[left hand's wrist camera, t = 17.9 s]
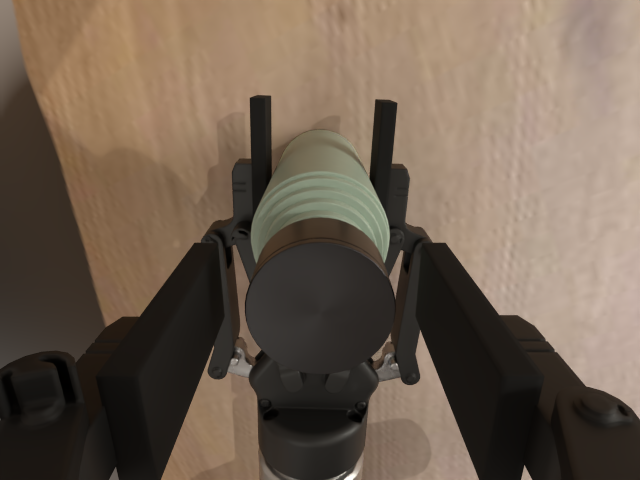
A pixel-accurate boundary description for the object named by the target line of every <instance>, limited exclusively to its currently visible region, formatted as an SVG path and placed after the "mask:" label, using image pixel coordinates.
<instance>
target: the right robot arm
mask: <svg viewBox="0 0 640 480" xmlns="http://www.w3.org/2000/svg"><path fill="white" fill-rule="evenodd" d="M396 113H397V103H396V102H393V101H391V100H378V99H376V100H375V113H374V126H373V139H372V152H371V165H370V178H369V179H370V181H371V184H372V186H373V188H374V190H375V192H376V194H377V196H378V198H379V201H380V203H381V205H382V207H383V209H384V211H385V214H386V217H387V220H388V224H389V233H390V239H389V247H388V252H387V256H386V260H385V262H384V265H385V268H386V271H387V274H388V277H389V275H390V273H391V271H392V269H393V266H394V264H395V262H396V259H397V257H398V255H399V253H400V250H403V251H404V252H403V258H402V264H401V270H400V275H399V281H398V287H397V293H396V299H395V302H396V314H395V320H394V324H393V327H392V330H391V341H392V342H387V343H386V344H385V347H384V348H383V350H382V356H381V358H380V359H378V360H377V361H373V359H372V358H371V357H370V358H369V359H368V360H366V361H365V362H363V363H361V364H359V365H358V366H356V367H353V368H351V369H348V370H345V371H341V372H337V373H331V374H310V373H304V372H299V371H296V370H292V369H290V368H287V367H285V366H283V365H281V364H279V363H278V362H276V361H275V360H273V359H272V358H270V357H269V356H268V355H267V354H266V353H265V352H264V351H262V350H261V351H260V352H259V353H258V355H257V356H256V357H255V358H254V357H252V356H250V355H249V354H248V351H247V344H246V343H245V342H244V339H243V338H242V337H238V336H239V331H240V316H239V306H238V296H237V286H236V277H235V267H234V257H233V247H232V245H236V246H237V249H238V252H239V254H240V257H241V260H242V263H243V265H244V268H245V271H246V274H247V276H248V279H249V282H251V279H252V276H253V273H254V270H255V267H256V261H255V258H254V254H253V250H252V244H251V227H252V222H253V218H254V215H255V213H256V210H257V208H258V206H259V204H260V201H261V199H262V197H263V195H264V193H265V191H266V189H267V187H268V184H269V182H270V180H271V178H272V156H271V96H264V95H257V96H254V97H251V98H250V126H251V159H239V160H238V161H237V162H236V163H235V166H234V168H233V171H232V183H233V184H232V187H233V212H234V215H233V217H232V218H230V219H227V220H224V221H222V220H218V221H215V222H214V223H213V224H212V225H211V227H210V228H209V229H208V231H207V232H206V234H205V235H204V236H203V238H202V240H201V243H218V247H219V258H220V269H221V280H222V291H223V302H224V313H225V317H224V320H223V322H222V325H221V327H220V330H219V333H218V335H217V338H216V340H215V343H214V350H213V354H212V357H211V360H210V364H209V367H208V374H209V376H210V377H211V378H214V379H222V378H224V377H225V376H226V374H227V372H229V373H232V374H236V375H240V376H243V377H247V378H249V382H250V385H251V386H252V388H253V389H254V391H255V392H256V395H257V403H258V441H259V451H258V452H259V477H260V480H362V470H363V460H364V446H365V436H366V426H367V415H368V404H369V399H370V397H371V395H372V393H373V392H374V391H375V390H376V388H377V386H378V383H379V382H381V381H386V380H390V379H395V378H400V377H401V380H402V382H403V383H405V384H407V385H413V384H416V383H417V382H418V381H419V379H420V373H419V368H418V364H417V360H416V355H415V353H416V348H417V343H418V338H419V333H420V328H419V325H418V322H417V320H416V317H415V313H416V302H417V291H418V280H419V269H420V258H421V247H422V243H433V242H432V241H431V239H430V238H429V236H428V235H427V233H426V232H425V230H424V229H423V228H421V227H413V226H411V225H408V224H407V223H405V218H406V208H407V199H408V189H409V181H410V178H409V174H408V171H407V169H406V167H405V166H404V165H403V164H392V155H393V144H394V134H395V123H396Z"/></svg>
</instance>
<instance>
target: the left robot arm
mask: <svg viewBox="0 0 640 480" xmlns="http://www.w3.org/2000/svg"><path fill="white" fill-rule="evenodd" d="M224 317H225V313H224V302H223V291H222V280H221V269H220V258H219V247H218V243H194V244H193V246H192V247H191V248H190V250H189V251H188V252H187V254H186V255H185V256H184V258H183V259H182V260H181V262H180V263H179V265H178V266H177V267H176V269H175V270H174V271H173V273H172V274H171V275H170V277H169V278H168V279H167V281H166V282H165V283H164V285H163V286H162V287H161V289H160V290H159V291H158V293H157V294H156V295H155V297H154V298H153V299H152V301H151V302H150V304H149V305H148V306H147V308H146V309H145V310H144V312H143V313H142V314H141V316H140V317H122V318H120V319H118V320H117V321H115V322H114V323H112V324H111V325H109V326H107V327H106V328H105V329H104V330H103V331H102V333H101V334H100V335H99V336H98V337H97V338H96V340H95V343H92V344H91V346H90V347H89V348H88V349H87V350H86V354H83V355H82V356H81V357H80V359H79V360H78V361H77V362H76V363H75V359H74V357H72V356H71V355H70V354H68V353H66V352H60V351H47V352H39V353H36V354H32V355H28V356H25V357H22V358H20V359H18V360H15V361H13V362H11V363H9V364H7V365H6V366H4V367H3V368H1V369H0V419H1V420H0V480H109V478H110V476H111V475H112V473H113V471H114V469H115V467H116V469H117V473H118V477H119V480H161V478H162V475H163V473H164V470H165V467H166V465H167V462H168V460H169V457H170V455H171V452H172V450H173V447H174V445H175V442H176V439H177V437H178V434H179V432H180V429H181V427H182V424H183V422H184V419H185V417H186V414H187V411H188V409H189V406H190V404H191V401H192V399H193V396H194V394H195V391H196V389H197V386H198V383H199V381H200V378H201V376H202V373H203V371H204V368H205V366H206V363H207V361H208V358H209V355H210V353H211V350H212V348H213V345H214V343H215V340H216V338H217V335H218V333H219V330H220V327H221V325H222V322H223V320H224ZM415 317H416V320H417V322H418V325H419V328H420V330H421V333H422V335H423V338H424V340H425V343H426V345H427V348H428V350H429V353H430V356H431V358H432V361H433V363H434V366H435V368H436V371H437V373H438V376H439V378H440V381H441V384H442V386H443V389H444V391H445V394H446V396H447V399H448V401H449V404H450V406H451V409H452V412H453V414H454V417H455V419H456V422H457V424H458V427H459V429H460V432H461V434H462V437H463V440H464V442H465V445H466V447H467V450H468V452H469V455H470V457H471V460H472V462H473V465H474V468H475V470H476V473H477V475H478V478H479V480H521V477H522V473H523V469H524V465H525V467H526V469H527V470H528V472H529V474H530V476H531V478H532V480H640V419H639V418H638V417H637V415H636V414H635V413H634V411H633V410H632V409H631V408H630V407H629V406H627V405H626V404H625V403H624V402H622V401H621V400H620V399H618V398H616V397H614V396H612V395H610V394H608V393H606V392H604V391H600V390H597V389H594V388H590V387H586V386H585V385H584V384H583V382H582V381H581V380H580V379H579V378H578V377H577V375H576V374H575V373H574V372H573V371H572V370H571V368H570V367H569V366H568V365H567V364H566V362H565V361H564V360H563V359H562V358H561V357H560V355H559V354H558V353H557V352H555V351H554V348H553V347H552V346H551V345H550V344H549V343H548V341H545V338H544V337H543V335H542V334H541V333H540V332H539V331H538V330H537V328H536V327H535V326H533V325H532V324H530V323H529V322H527V321H526V320H524V319H522V318H521V317H519V316H518V315H499V314H498V313H497V312H496V310H495V309H494V308H493V306H492V305H491V304H490V302H489V301H488V300H487V298H486V297H485V295H484V294H483V293H482V291H481V290H480V289H479V287H478V286H477V285H476V283H475V282H474V281H473V279H472V278H471V277H470V275H469V274H468V273H467V271H466V270H465V269H464V267H463V266H462V265H461V263H460V262H459V261H458V259H457V258H456V256H455V255H454V254H453V252H452V251H451V250H450V248H449V247H448V246H447V244H446V243H422V247H421V258H420V269H419V280H418V291H417V302H416V313H415Z"/></svg>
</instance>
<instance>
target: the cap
mask: <svg viewBox="0 0 640 480" xmlns="http://www.w3.org/2000/svg"><path fill="white" fill-rule="evenodd" d="M395 314H396V302H395V295H394V292H393V289H392V285H391V283H390V280H389V277H388V274H387V271H386V268H385V265H384V262H383V259H382V256H381V254H380V252H379V250H378V248H377V247H376V245H375V244H374V242H373V241H372V240H371V239H370V238H369V237H368V236H367V235H366V234H365V233H364V232H363V231H361V230H360V229H358V228H357V227H355V226H353V225H351V224H349V223H347V222H344V221H341V220H338V219H332V218H322V217H318V218H308V219H303V220H300V221H297V222H294V223H292V224H290V225H287V226H286V227H284V228H282V229H281V230H279V231H278V232H277V233H276V234H275V235H273V236H272V237H271V238H270V240H269V241H268V242H267V243H266V245H265V246H264V248H263V249H262V251H261V253H260V255H259V258H258V261H257V264H256V267H255V270H254V273H253V276H252V279H251V282H250V285H249V288H248V291H247V294H246V300H245V316H246V321H247V325H248V328H249V331H250V333H251V335H252V337H253V339H254V340H255V342H256V343H257V345H258V346H259V347H260V348H261V349H262V351H264V352H265V353H266V354H267V355H268V356H269V357H270V358H272V359H273V360H275V361H276V362H278V363H279V364H281V365H283V366H285V367H287V368H290V369H292V370H296V371H299V372H304V373H310V374H331V373H337V372H341V371H345V370H348V369H351V368H353V367H356V366H358V365H359V364H361V363H363V362H365V361H366V360H368V359H369V358H370V357H372V356H373V355H374V354H375V353H376V352H377V351H378V350H379V349H380V348H381V347H382V345H383V344H384V343H385V341H386V340H387V338H388V336H389V334H390V332H391V330H392V327H393V324H394V320H395Z"/></svg>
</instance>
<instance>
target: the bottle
mask: <svg viewBox="0 0 640 480" xmlns="http://www.w3.org/2000/svg"><path fill="white" fill-rule="evenodd" d="M318 217H322V218H332V219H338V220H341V221H344V222H347V223H349V224H351V225H353V226H355V227H357V228H358V229H360V230H361V231H363V232H364V233H365V234H366V235H367V236H368V237H369V238H370V239H371V240H372V241H373V242H374V244H375V245H376V247H377V248H378V250H379V252H380V254H381V256H382V259H383V262H385V260H386V256H387V252H388V247H389V239H390V233H389V224H388V220H387V217H386V214H385V211H384V209H383V207H382V205H381V203H380V201H379V198H378V196H377V194H376V192H375V190H374V188H373V186H372V184H371V181H370V179H369V177H368V175H367V173H366V171H365V169H364V167H363V164H362V162H361V160H360V158H359V156H358V154H357V152H356V150H355V148H354V147H353V145H352V144H351V143H350V142H349V141H348V140H347V139H346V138H344V137H343V136H341V135H340V134H338V133H335V132H332V131H329V130H312V131H308V132H305V133H302V134H301V135H299V136H297V137H296V138H295V139H293V140H292V141H291V142H290V143H289V145H288V146H287V147H286V149H285V151H284V152H283V154H282V157H281V159H280V161H279V163H278V165H277V167H276V169H275V172H274V174H273V176H272V178H271V180H270V182H269V184H268V187H267V189H266V191H265V193H264V195H263V197H262V199H261V201H260V204H259V206H258V208H257V210H256V213H255V215H254V218H253V222H252V227H251V244H252V250H253V254H254V258H255V261H256V264H257V261H258V258H259V255H260V253H261V251H262V249H263V248H264V246H265V245H266V243H267V242H268V241H269V240H270V238H271V237H272V236H273V235H275V234H276V233H277V232H278V231H279V230H281V229H282V228H284V227H286V226H287V225H290V224H292V223H294V222H297V221H300V220H303V219H308V218H318Z"/></svg>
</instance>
